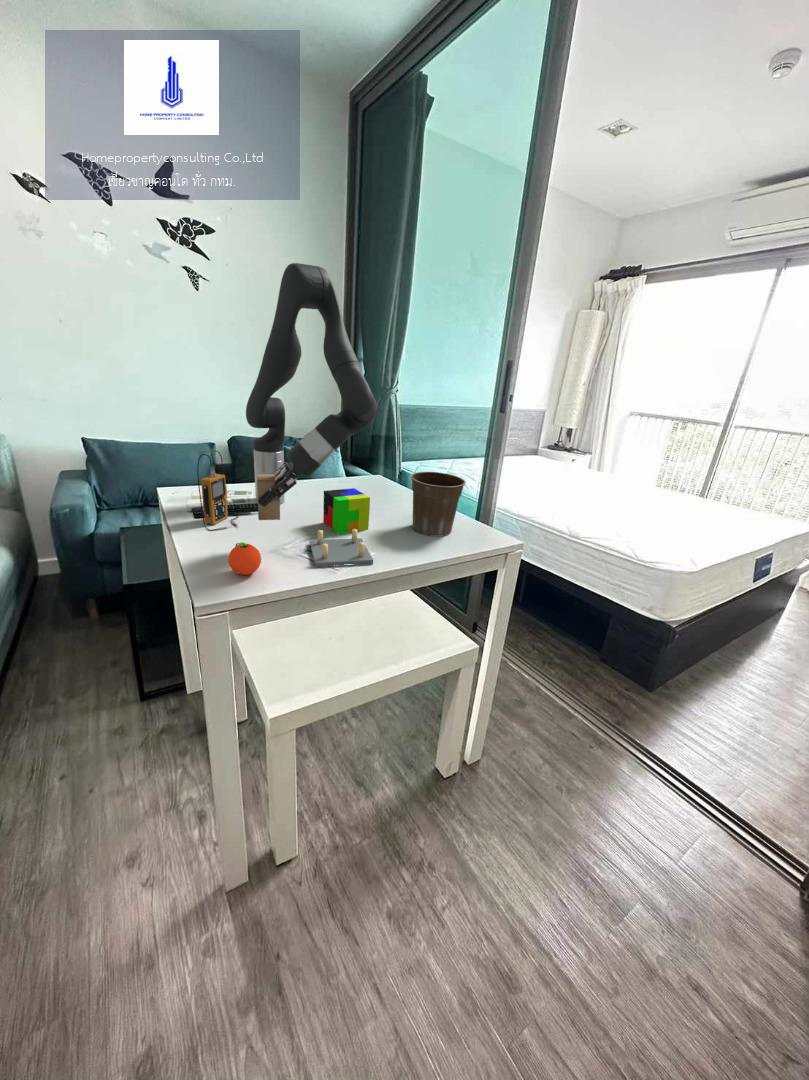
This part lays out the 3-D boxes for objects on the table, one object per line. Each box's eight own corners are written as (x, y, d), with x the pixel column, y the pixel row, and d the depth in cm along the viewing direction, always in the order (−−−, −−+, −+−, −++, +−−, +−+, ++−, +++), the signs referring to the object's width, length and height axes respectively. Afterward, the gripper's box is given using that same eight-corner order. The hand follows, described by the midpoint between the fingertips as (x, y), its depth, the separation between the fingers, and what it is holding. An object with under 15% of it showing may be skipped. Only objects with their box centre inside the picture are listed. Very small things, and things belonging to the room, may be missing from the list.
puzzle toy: (353, 518, 137) (354, 488, 134) (368, 529, 130) (370, 497, 126) (323, 522, 132) (323, 490, 128) (337, 534, 124) (338, 500, 121)
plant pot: (469, 535, 132) (477, 483, 126) (425, 542, 124) (431, 487, 118) (438, 518, 145) (444, 470, 139) (396, 523, 137) (400, 473, 131)
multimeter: (229, 534, 118) (224, 460, 110) (196, 528, 119) (188, 455, 112) (257, 517, 131) (254, 451, 124) (227, 512, 133) (222, 446, 125)
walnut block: (258, 513, 109) (256, 474, 105) (279, 512, 111) (278, 474, 107) (258, 520, 105) (256, 479, 101) (280, 519, 107) (279, 480, 103)
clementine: (221, 569, 98) (219, 540, 96) (250, 562, 103) (249, 534, 100) (237, 583, 93) (235, 553, 91) (267, 575, 98) (266, 545, 95)
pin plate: (309, 544, 116) (309, 527, 114) (361, 542, 120) (362, 526, 118) (315, 567, 103) (315, 549, 102) (372, 564, 108) (374, 546, 106)
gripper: (297, 435, 109) (248, 481, 110) (302, 447, 97) (247, 499, 98) (318, 456, 113) (271, 501, 114) (326, 471, 100) (273, 521, 101)
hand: (260, 500), depth 106 cm, fingers closed on walnut block, 5 cm apart
